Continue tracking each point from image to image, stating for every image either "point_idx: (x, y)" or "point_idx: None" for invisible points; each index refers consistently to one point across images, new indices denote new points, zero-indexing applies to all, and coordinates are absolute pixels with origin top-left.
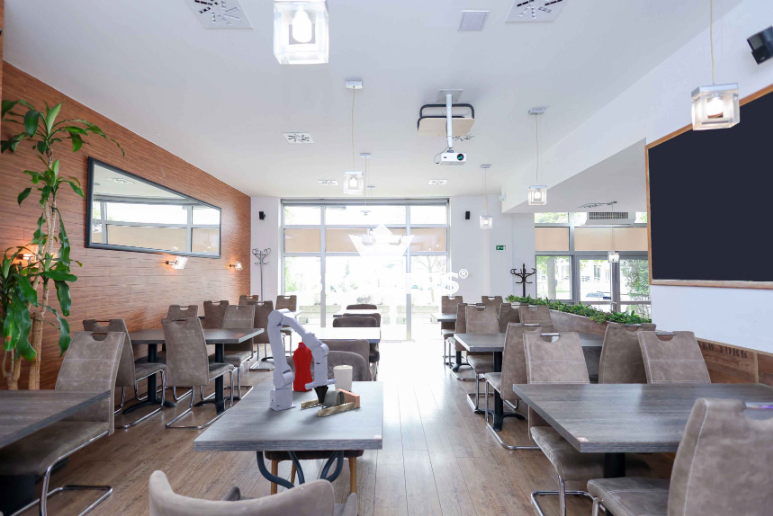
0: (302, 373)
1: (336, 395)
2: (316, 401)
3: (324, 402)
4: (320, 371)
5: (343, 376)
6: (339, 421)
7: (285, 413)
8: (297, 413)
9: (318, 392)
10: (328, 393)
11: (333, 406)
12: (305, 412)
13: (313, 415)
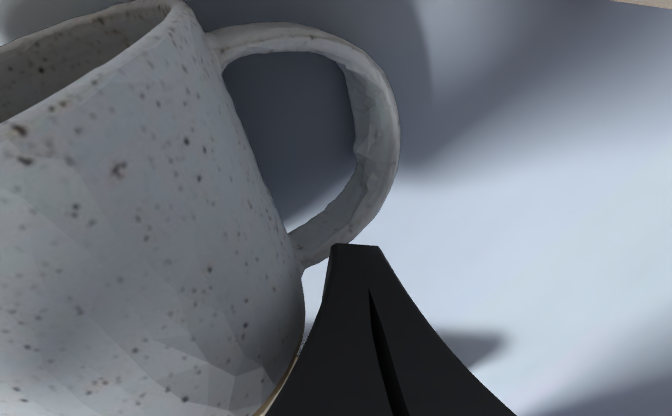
0: None
1: (60, 116)
2: (276, 396)
3: (297, 259)
4: None
5: None
6: None
7: (663, 355)
8: (615, 287)
9: None
10: (188, 373)
11: (242, 30)
12: (542, 258)
13: (603, 87)
